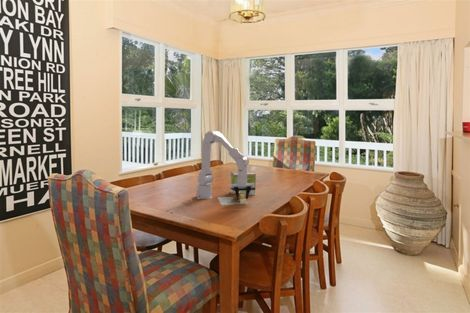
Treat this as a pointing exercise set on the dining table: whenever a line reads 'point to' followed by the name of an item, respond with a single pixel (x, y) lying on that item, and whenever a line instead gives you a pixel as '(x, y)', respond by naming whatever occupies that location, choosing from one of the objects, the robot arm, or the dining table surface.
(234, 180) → the tea box
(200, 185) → the robot arm
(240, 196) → the lead tab
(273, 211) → the dining table surface
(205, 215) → the dining table surface
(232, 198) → the winding board
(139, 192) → the dining table surface
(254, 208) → the dining table surface
